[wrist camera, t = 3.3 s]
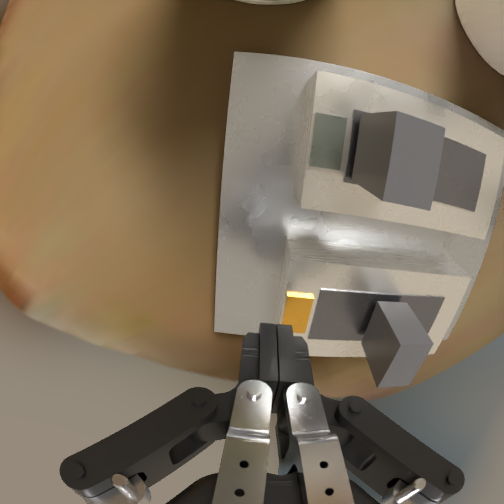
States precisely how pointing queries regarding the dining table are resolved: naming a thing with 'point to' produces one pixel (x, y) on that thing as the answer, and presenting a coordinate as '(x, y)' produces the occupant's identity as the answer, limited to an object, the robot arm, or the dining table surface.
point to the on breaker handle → (398, 158)
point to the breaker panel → (279, 209)
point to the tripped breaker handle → (395, 344)
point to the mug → (484, 28)
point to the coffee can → (270, 1)
